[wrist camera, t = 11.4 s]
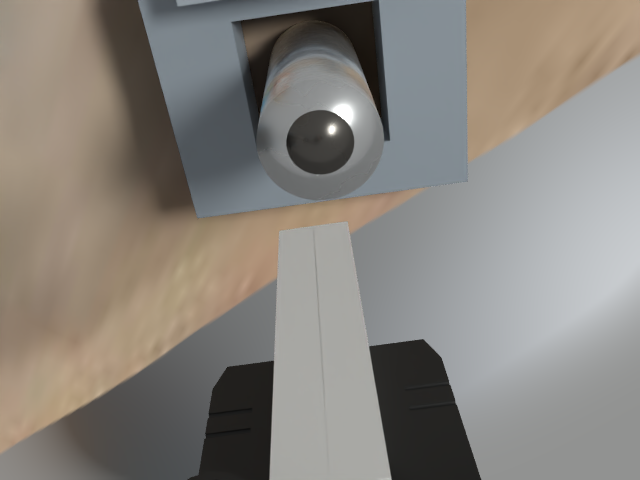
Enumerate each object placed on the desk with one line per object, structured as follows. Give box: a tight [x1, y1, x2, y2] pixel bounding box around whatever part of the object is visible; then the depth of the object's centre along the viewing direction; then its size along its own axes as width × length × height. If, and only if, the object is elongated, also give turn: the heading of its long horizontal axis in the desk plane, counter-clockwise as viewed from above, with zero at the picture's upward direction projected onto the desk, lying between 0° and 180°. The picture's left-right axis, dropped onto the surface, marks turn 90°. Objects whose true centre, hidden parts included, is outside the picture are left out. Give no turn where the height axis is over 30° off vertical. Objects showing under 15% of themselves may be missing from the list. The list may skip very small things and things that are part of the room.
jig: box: [138, 0, 468, 218], centre depth 28 cm, size 14×12×5 cm
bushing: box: [256, 20, 384, 200], centre depth 25 cm, size 4×4×11 cm
